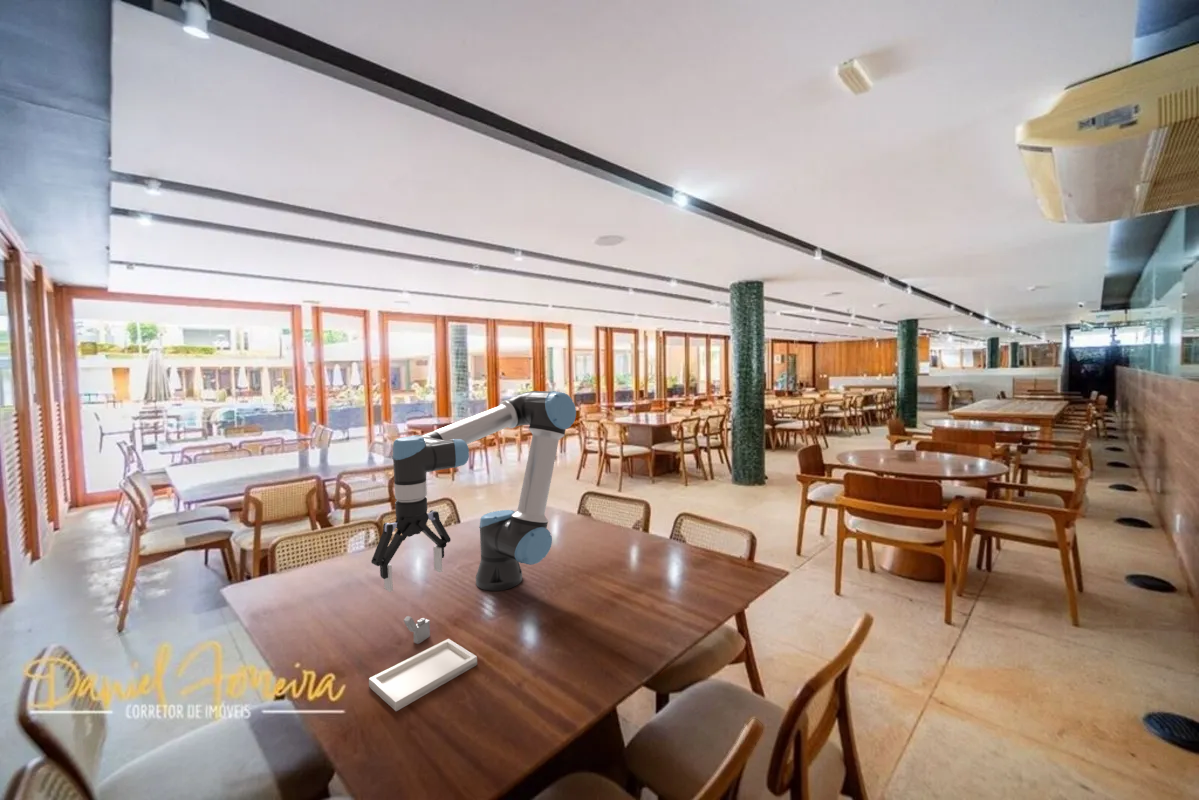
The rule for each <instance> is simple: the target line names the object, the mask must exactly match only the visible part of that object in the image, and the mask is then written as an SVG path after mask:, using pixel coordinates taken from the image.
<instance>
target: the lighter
mask: <svg viewBox="0 0 1199 800" xmlns="http://www.w3.org/2000/svg"><path fill="white" fill-rule="evenodd" d="M402 621H403V622H404V625H405V626H406V628H407V629H408V630H409V632H411V633H413V634H412V635H413V643H414V644H417V645H419V644H420V643H422V642H424V641H425V640H427V639H428V638H430V637H431V626H430V624H431V623H430V619H427V618H425V617H421V618H420V619H418V620H417V621H416V622H417V623H416V622H415V620H414V618H413V617H412V616H409V615H406V616H405V617H404V619H403V620H402Z"/></svg>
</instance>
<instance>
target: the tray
mask: <svg viewBox="0 0 1199 800" xmlns="http://www.w3.org/2000/svg"><path fill="white" fill-rule="evenodd" d="M477 665H478V656H477V655H475V654H474V653H473V652H470V651H469V650H467V649H466V648H464V647H463V646H461V645H460V644H457V643H456V641H455V642H454V641H453V640H451V639H450V638H447V639H445V640H443V641H441V642H439V643H436V644H435V645H433V646H431V647H429V648H427V649H425V650H422V651H420V652H419V653H417V654H415V655H413V656H411V657H408V658H407V659H405V660H403V661H401V662H399V663H397V664H395V665H393V666H391V667H389V668H387V669H385V670H382V671H381V672H379V673H376V674H375V675H373V676H370V677H369V678H368V687H369V688H370V689H371V690H372V691H373V692H374V693H375V694H376V695H377V696H379V697H380V699H382V700H383V702H385V703H386V704H388V706H390V707H391V709H393V710H394V711H395V712H398V711H399V710H401V709H403V708H404V707H407V706H408V705H410V704H411V703H413V702H415V701H417V700H418V699H420V698H422V697H424V696H426V695H427V694H429V693H431V692H432V691H434V690H436V689H438V688H439V687H442V686H443V685H444V684H446V683H448V682H449V681H452V680H453V679H455V678H457V677H458V676H460V675H462V674H463V673H465V672H468V671H469V670H471V669H473V668H474V667H476V666H477Z"/></svg>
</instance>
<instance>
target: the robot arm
mask: <svg viewBox="0 0 1199 800" xmlns="http://www.w3.org/2000/svg"><path fill="white" fill-rule="evenodd" d="M576 417H577V408H576V405H575V403H574V402H573V399H572V397H571V396H570V395H568V394H567V393H565V392H561V391H557V390H556V391H555V390H550V391H549V390H547V391H544V390H542V391H541V390H540V391H539V390H530V391H526V392H522V393H520V394H517V395H515V396H512V397H510V398H507V399H505V400H502V401H500V402H499V404H498V406H495V407H492V408H490V409H488V410H487V409H486V410H485V411H482V412H479V413H477V414H475V415H472V416H469V417H466V418H464V419H461V420H459V421H456V422H453V423H451V424H448V425H446V426H444V427H440V428H438V429H435V430H434V431H433V430H432V431H430V432H427V433H425V434H423V435H419V434H416V435H410V436H405V437H404V436H403V437H398V438H396V439H395V440H394V441H393V443H392V461H393V462H392V463H393V478H394V479H393V481H394V483H393V484H394V485H393V486H394V499H395V502H394V505H395V506H394V508H395V517H396V519H395V521H394V522H384V523H383V527H382V533H381V535H380V539H379V540H378V543H377V546H376V549H375V551H374V553H373V556H372V559H371V560H370V561H371V564H372V565H374V566H377V567H379V573H380V575H379V577H380V578H381V579H383V583H384V584H383V587H384V589H385V590H386V591H388V592H389V593H391V592H393V591H394V587H393V585H394V584H393V565H392V564H391V563H390V562H391V561H392V559H393V557H394V556H395V554H396V552H397V551H398V550H399V548H400V546H401V545H402V544H403V542H404V541H405V540H406V539H407V537H413V536H414V535H420V534H421V533H423V534H424V535H425V536H427V538H429V539H430V540H431V541H432V542H433V543H435V545H433V548H432V549H433V570H434V571H436V572H437V573H442V572H443V558H445V548H446V547H447V545H448V544H447V543H451V540H452V539H451V537H450V535H449V534H448V531H447V530H446V528H445V526H444V524H443V523H442V521H441V519H440V514H439V512H438V511H436V510H430V511H429V512H428V499H427V496H428V491H427V490H428V489H427V473H430V472H435V471H441V470H448V469H455V468H459V467H462V466H465V465H466V464H467V463H468V461H469V458H470V450H469V446H468V445H469V444H471V443H474V442H476V441H479V440H480V439H483V438H486V437H488V436H490V435H492V434H496V433H497V432H500V431H502V430H504V429H506V428H507V429H514V428H516V427H519V426H529V427H528V430H529V432H530V433H531V435H532V436H531V441H530V447H529V451H528V456H527V461H526V462H527V463H526V467H525V472H524V476H523V482H522V485H521V486H522V487H521V491H520V496H519V501H518V506H517V510H516V511H514V510H513V509H512V510H509V509H504V510H503V509H502V510H496V511H491V512H488V513H485V514H483V515H482V516H481V517H480V520H479V526H478V527H479V539H480V562H479V565H478V569H477V572H476V575H475V585H476V587H478V588H479V589H481V590H484V591H489V592H490V591H491V592H495V591H496V592H497V591H505V590H509V589H512V588H515V587H516V586H518V585H519V584H521V582H522V581H523V570H522V568H521V565H520V564H526V565H529V566H531V565H536V564H538V563H540V562H541V561H543V559H545V558H546V557H547V555H548V554H549V552H550V550H551V547H552V544H553V537H552V534H551V532H550V530H548V523H549V520H548V518H547V517H546V509H547V504H548V503H547V502H548V497H549V493H550V492H549V491H550V488H551V483H552V478H553V477H552V476H553V472H554V468H555V467H554V466H555V462H556V456H557V452H558V447H559V442H560V440H561V439H562V438H564V437H565V435H566V430H567V429H569V428H571V426H572V425H573V424H574V423H575V422H576V421H575V420H576ZM428 521H431V523H432V525H433V527H434V529H435V530H436V532H437V533H438V535H439V536H438V535H437V534H436V533H435V532H433V531H432V530H431V528H430V527H429V526H428V525H427V523H428ZM395 529H396V531H395ZM394 532H395V533H394ZM393 533H394V535H393ZM392 536H393V539H392Z"/></svg>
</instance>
